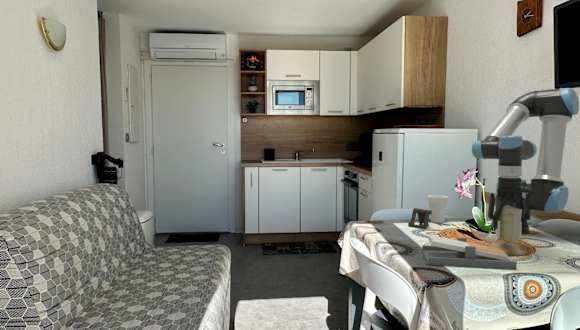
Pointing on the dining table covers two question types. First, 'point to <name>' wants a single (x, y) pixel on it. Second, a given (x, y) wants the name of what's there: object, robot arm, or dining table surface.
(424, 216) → the portable electronic device stand
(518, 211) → the skincare box
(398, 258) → the dining table surface
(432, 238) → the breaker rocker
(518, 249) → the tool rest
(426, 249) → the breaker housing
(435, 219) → the foam cup
